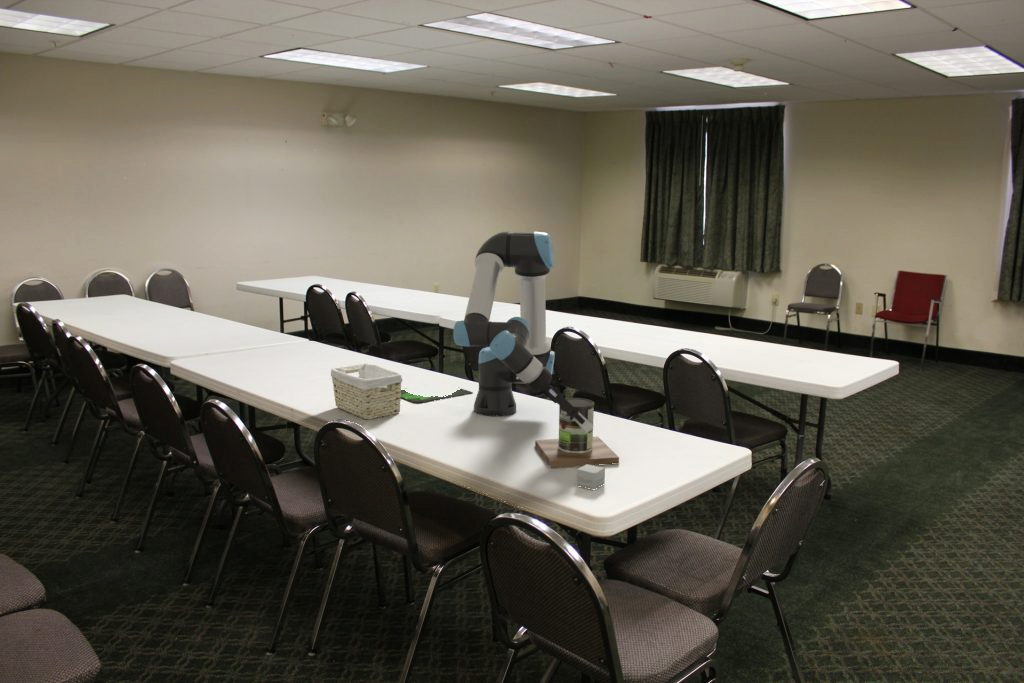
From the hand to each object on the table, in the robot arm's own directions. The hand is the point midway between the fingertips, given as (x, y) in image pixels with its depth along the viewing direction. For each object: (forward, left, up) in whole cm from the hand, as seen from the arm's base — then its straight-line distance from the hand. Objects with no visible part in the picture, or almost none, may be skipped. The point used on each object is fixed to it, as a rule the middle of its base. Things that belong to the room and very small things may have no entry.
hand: (583, 422), depth 232 cm
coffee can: (0, -2, -8) cm, 8 cm away
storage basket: (-60, -62, -10) cm, 87 cm away
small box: (+25, -5, -10) cm, 27 cm away
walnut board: (0, -2, -10) cm, 10 cm away
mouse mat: (-82, -37, -10) cm, 91 cm away
